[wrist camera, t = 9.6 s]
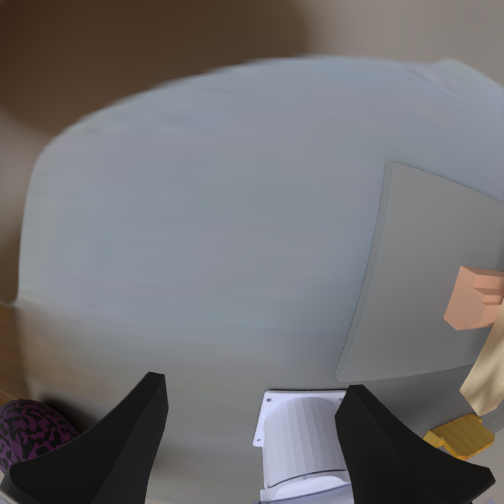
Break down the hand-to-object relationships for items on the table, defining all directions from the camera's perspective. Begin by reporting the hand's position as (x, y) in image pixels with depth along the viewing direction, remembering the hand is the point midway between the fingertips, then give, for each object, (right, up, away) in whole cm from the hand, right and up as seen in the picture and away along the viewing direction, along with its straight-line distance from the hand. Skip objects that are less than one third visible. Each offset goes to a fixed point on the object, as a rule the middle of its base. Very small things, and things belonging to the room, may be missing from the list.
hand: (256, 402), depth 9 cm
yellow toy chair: (+31, -23, +18) cm, 43 cm away
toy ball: (-28, -18, +16) cm, 36 cm away
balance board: (+18, +2, +10) cm, 21 cm away
